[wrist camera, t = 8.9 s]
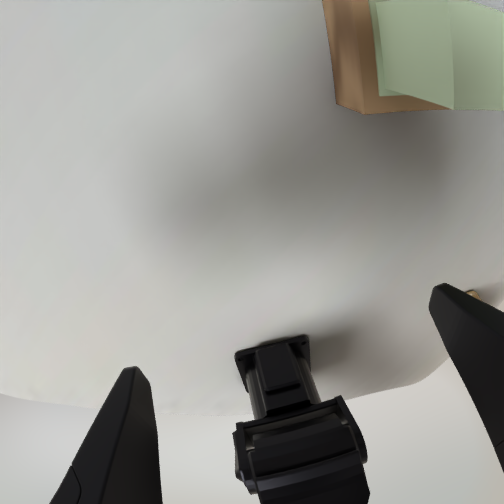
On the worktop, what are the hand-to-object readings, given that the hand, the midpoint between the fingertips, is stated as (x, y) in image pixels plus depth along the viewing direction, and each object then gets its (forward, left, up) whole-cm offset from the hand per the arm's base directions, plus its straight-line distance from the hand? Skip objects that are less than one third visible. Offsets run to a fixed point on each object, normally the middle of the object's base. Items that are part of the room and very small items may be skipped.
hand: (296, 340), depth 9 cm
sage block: (+7, -10, -8) cm, 15 cm away
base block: (+7, -10, -12) cm, 17 cm away
